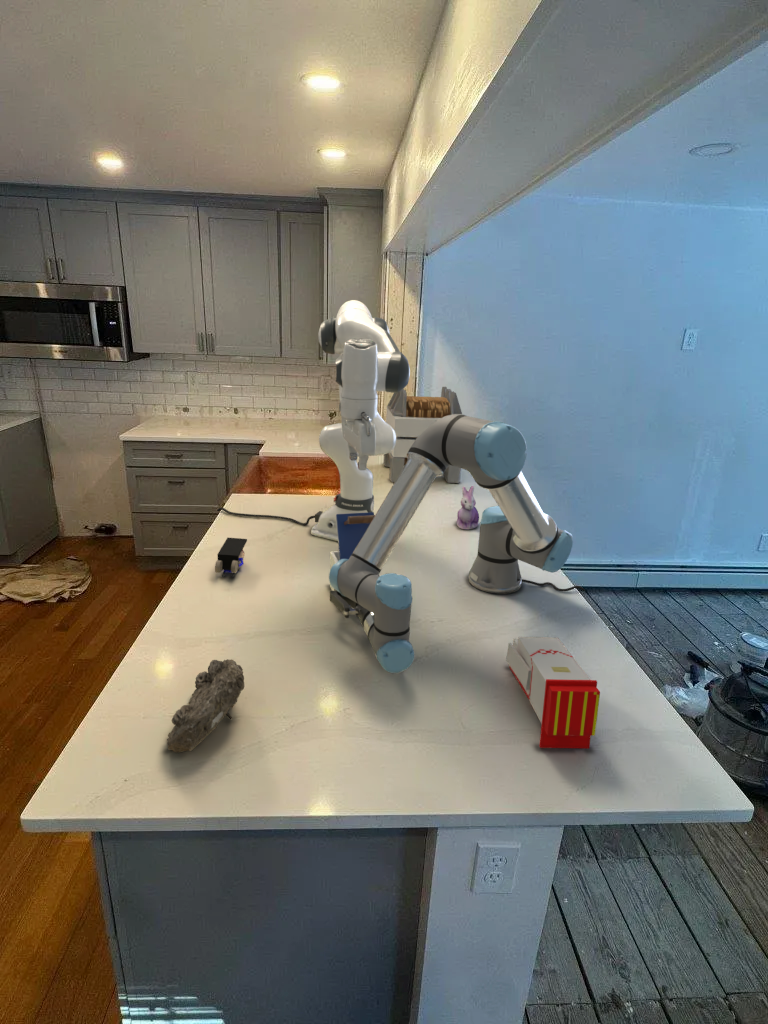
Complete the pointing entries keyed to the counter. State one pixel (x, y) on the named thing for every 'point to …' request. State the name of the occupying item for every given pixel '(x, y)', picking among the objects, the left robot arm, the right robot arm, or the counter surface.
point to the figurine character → (230, 556)
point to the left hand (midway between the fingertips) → (357, 464)
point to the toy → (555, 691)
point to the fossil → (206, 705)
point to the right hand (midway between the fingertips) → (356, 579)
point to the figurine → (468, 510)
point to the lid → (351, 531)
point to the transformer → (417, 426)
